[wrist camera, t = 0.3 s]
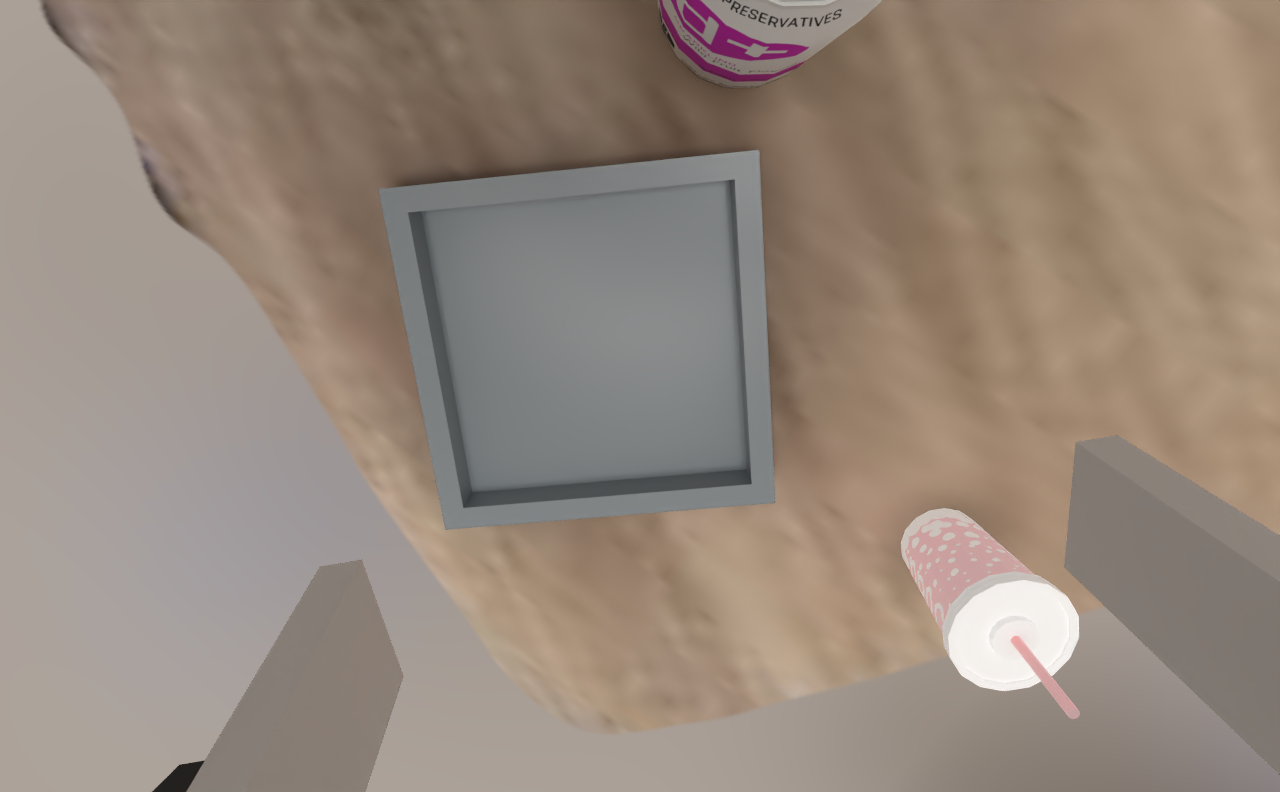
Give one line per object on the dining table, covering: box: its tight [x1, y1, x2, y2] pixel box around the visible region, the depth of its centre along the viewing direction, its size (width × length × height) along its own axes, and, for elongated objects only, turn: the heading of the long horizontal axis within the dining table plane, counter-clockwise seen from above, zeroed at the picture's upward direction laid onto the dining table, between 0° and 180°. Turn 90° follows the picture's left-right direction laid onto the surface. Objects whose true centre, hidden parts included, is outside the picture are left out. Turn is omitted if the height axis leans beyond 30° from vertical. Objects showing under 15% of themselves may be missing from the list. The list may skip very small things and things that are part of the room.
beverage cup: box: [901, 508, 1080, 719], centre depth 35 cm, size 6×6×14 cm
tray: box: [378, 150, 775, 530], centre depth 37 cm, size 18×18×3 cm
